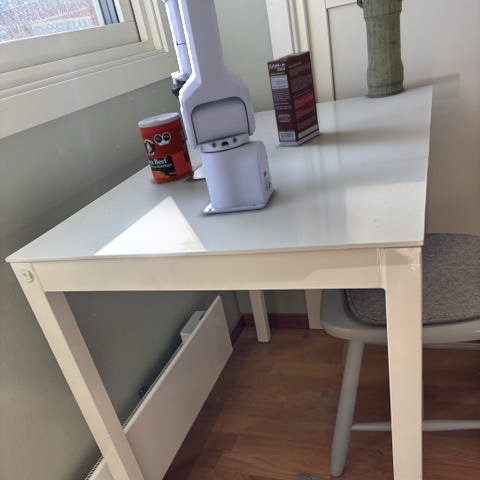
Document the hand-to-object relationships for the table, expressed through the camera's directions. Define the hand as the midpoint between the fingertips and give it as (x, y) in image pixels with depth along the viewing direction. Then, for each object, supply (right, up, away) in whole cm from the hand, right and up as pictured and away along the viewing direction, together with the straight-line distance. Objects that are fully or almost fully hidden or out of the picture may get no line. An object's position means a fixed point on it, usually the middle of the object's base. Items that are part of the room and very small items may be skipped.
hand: (208, 124), depth 93 cm
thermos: (+43, +22, +37) cm, 61 cm away
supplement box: (+18, +1, +12) cm, 22 cm away
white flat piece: (+2, -7, +4) cm, 9 cm away
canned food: (-7, -7, +7) cm, 13 cm away
